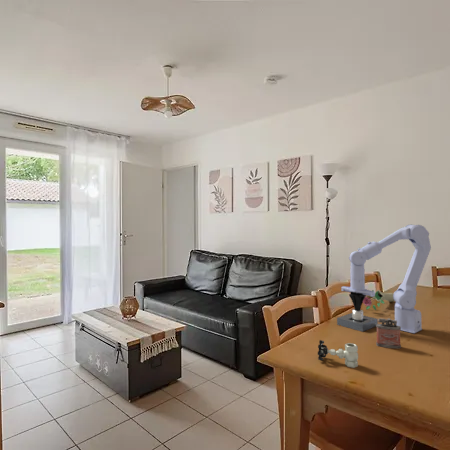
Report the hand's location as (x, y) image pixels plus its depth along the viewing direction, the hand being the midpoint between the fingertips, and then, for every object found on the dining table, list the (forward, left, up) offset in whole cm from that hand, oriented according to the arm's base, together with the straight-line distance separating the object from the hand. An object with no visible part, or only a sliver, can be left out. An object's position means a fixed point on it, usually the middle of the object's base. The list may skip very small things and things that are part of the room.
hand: (357, 310), depth 141 cm
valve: (-16, +38, -7) cm, 42 cm away
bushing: (0, 0, -7) cm, 7 cm away
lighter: (-19, +12, -7) cm, 24 cm away
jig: (+1, -1, -7) cm, 7 cm away
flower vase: (+9, -36, -7) cm, 38 cm away
